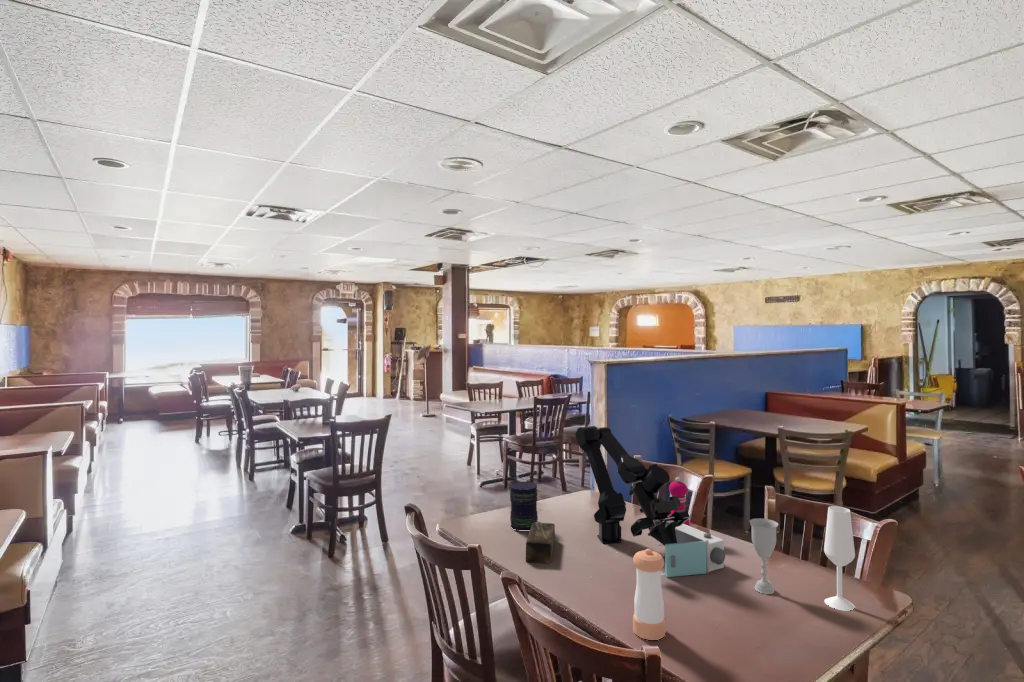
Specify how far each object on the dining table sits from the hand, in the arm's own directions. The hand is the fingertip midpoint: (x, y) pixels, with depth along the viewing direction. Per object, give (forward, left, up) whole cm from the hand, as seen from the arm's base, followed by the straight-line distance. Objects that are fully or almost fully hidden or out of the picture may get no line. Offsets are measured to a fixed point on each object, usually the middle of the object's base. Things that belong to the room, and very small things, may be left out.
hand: (675, 550), depth 153 cm
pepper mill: (+14, +27, -7) cm, 32 cm away
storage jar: (-36, +45, -7) cm, 58 cm away
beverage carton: (-34, +24, -7) cm, 42 cm away
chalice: (+19, -13, -7) cm, 24 cm away
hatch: (+3, -1, -7) cm, 7 cm away
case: (+10, +9, -7) cm, 15 cm away
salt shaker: (-19, -27, -7) cm, 33 cm away
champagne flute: (+33, -23, -7) cm, 41 cm away
